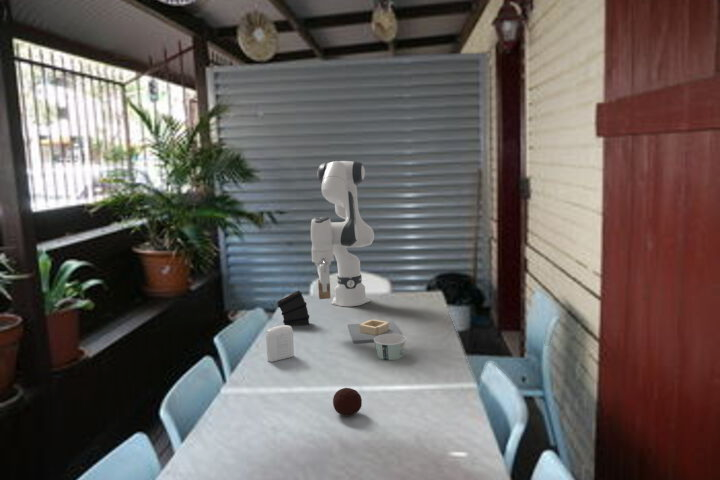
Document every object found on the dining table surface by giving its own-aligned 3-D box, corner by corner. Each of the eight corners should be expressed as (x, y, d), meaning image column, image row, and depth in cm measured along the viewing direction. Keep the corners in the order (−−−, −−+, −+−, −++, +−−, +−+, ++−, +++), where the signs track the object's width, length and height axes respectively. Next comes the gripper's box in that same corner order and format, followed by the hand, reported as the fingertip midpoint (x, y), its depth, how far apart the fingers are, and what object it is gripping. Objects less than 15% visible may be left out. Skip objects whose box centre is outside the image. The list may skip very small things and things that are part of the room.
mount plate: (347, 326, 252) (347, 317, 251) (393, 323, 254) (393, 314, 254) (353, 343, 230) (352, 333, 230) (403, 339, 233) (402, 329, 232)
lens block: (318, 296, 242) (318, 279, 241) (329, 295, 242) (328, 279, 241) (319, 299, 237) (318, 282, 236) (330, 298, 238) (329, 281, 237)
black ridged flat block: (315, 321, 257) (299, 291, 254) (289, 334, 257) (272, 305, 255) (316, 318, 260) (299, 289, 258) (290, 332, 261) (273, 303, 258)
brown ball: (344, 405, 175) (343, 380, 173) (369, 413, 169) (368, 387, 168) (326, 415, 168) (325, 389, 167) (350, 423, 163) (349, 397, 161)
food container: (404, 362, 208) (404, 344, 207) (371, 361, 210) (370, 343, 209) (408, 350, 220) (408, 334, 219) (377, 349, 222) (376, 333, 221)
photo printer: (290, 353, 221) (288, 322, 219) (296, 356, 218) (294, 324, 216) (265, 359, 216) (263, 327, 214) (270, 363, 212) (268, 330, 210)
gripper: (332, 260, 227) (334, 295, 229) (328, 252, 247) (330, 284, 249) (316, 261, 227) (317, 296, 229) (313, 253, 247) (315, 285, 249)
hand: (324, 290), depth 239 cm, fingers closed on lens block, 4 cm apart
